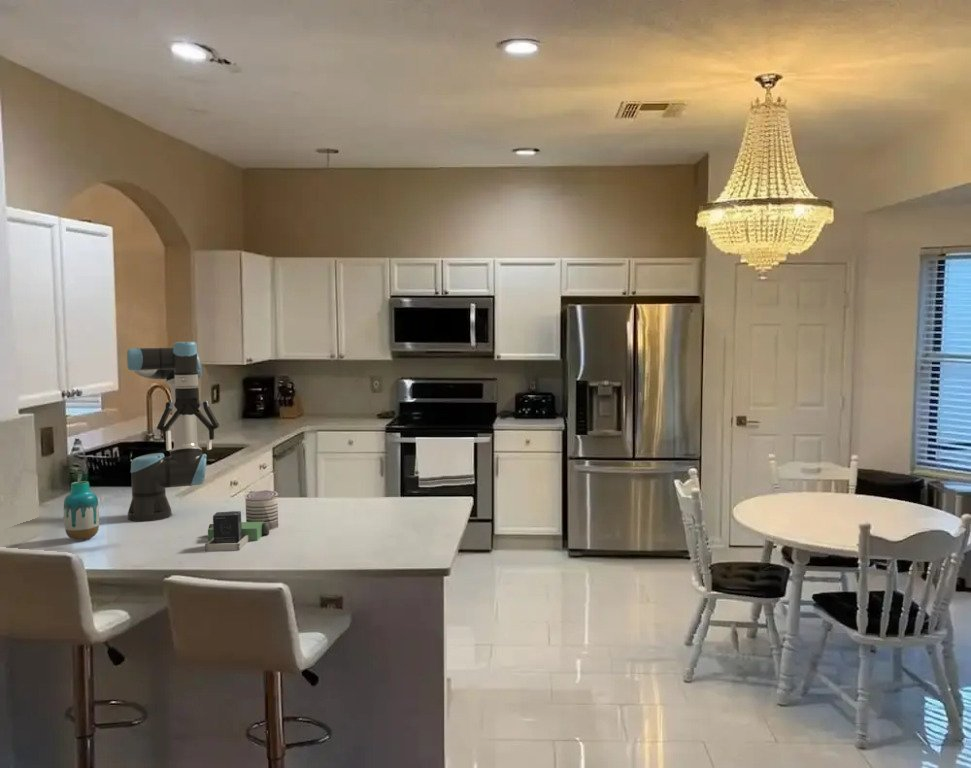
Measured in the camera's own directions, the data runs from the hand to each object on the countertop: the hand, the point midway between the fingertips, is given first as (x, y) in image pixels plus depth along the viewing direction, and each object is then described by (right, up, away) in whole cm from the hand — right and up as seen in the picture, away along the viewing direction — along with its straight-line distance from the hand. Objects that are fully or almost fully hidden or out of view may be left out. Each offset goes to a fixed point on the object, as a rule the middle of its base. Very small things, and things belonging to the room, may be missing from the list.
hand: (189, 449), depth 284 cm
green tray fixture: (+18, -29, -11) cm, 36 cm away
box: (+18, -30, -16) cm, 38 cm away
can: (+22, -28, +9) cm, 37 cm away
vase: (-34, -30, -4) cm, 46 cm away
